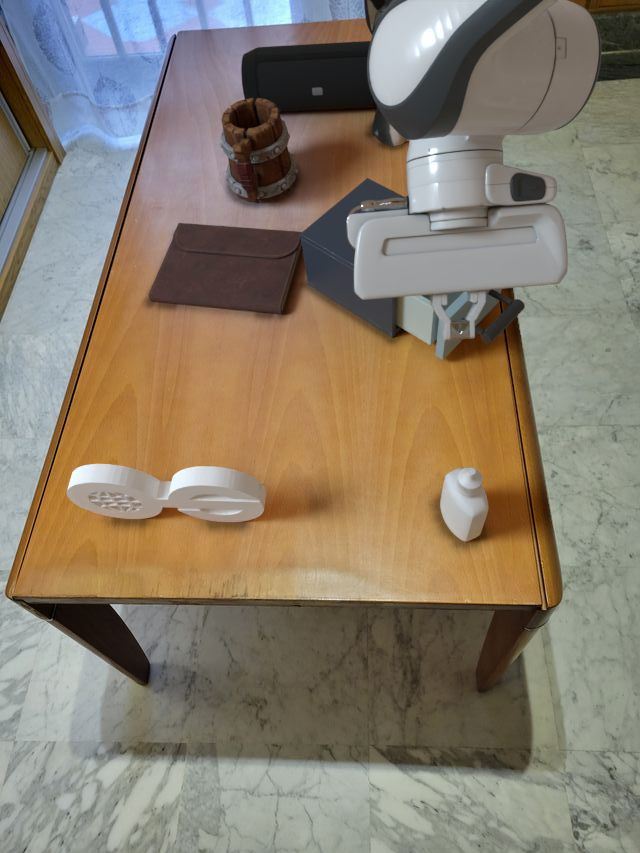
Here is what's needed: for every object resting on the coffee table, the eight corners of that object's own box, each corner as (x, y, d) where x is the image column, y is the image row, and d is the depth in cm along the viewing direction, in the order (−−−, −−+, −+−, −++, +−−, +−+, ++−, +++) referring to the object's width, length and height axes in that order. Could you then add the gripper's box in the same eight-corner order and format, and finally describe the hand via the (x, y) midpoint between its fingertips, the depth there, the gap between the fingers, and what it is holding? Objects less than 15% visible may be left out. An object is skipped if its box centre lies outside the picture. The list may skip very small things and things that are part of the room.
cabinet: (453, 278, 89) (460, 225, 81) (392, 337, 85) (392, 288, 77) (369, 231, 96) (367, 177, 87) (307, 284, 91) (299, 233, 83)
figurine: (373, 153, 105) (369, -14, 83) (358, 128, 108) (350, -38, 87) (426, 137, 106) (435, -33, 84) (408, 113, 109) (413, -55, 88)
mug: (305, 152, 106) (291, 75, 92) (294, 223, 101) (278, 153, 87) (237, 152, 108) (213, 76, 94) (224, 222, 103) (196, 153, 89)
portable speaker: (248, 125, 112) (236, 69, 103) (255, 91, 117) (245, 35, 108) (394, 119, 109) (394, 60, 100) (395, 85, 114) (395, 26, 105)
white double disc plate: (89, 517, 76) (50, 481, 67) (93, 500, 77) (56, 462, 68) (270, 523, 73) (254, 486, 64) (272, 505, 74) (257, 467, 66)
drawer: (529, 319, 83) (542, 277, 77) (473, 379, 79) (481, 341, 73) (413, 254, 91) (415, 211, 84) (357, 307, 87) (354, 266, 80)
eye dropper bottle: (478, 496, 72) (493, 446, 62) (480, 543, 70) (496, 499, 59) (439, 495, 73) (448, 445, 63) (440, 542, 70) (449, 497, 60)
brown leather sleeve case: (282, 316, 89) (279, 306, 87) (151, 303, 92) (146, 293, 91) (304, 239, 96) (303, 229, 94) (182, 230, 100) (179, 220, 98)
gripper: (344, 199, 57) (355, 351, 61) (575, 178, 56) (572, 334, 59) (344, 204, 63) (354, 342, 67) (553, 185, 62) (551, 327, 66)
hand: (458, 338), depth 63 cm, fingers closed
